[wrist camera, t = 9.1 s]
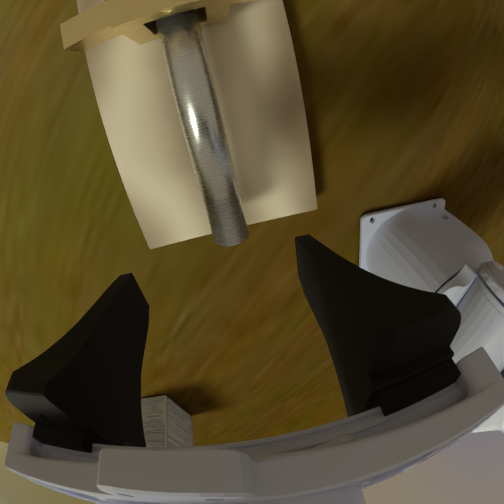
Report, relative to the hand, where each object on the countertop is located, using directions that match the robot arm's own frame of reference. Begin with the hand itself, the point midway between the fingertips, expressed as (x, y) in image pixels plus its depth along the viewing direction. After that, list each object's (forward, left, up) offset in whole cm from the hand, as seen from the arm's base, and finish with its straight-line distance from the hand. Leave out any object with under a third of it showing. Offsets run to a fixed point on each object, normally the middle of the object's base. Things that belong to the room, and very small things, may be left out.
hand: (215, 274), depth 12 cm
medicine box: (+15, +28, -9) cm, 33 cm away
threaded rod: (-1, -7, -5) cm, 9 cm away
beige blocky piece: (-1, -8, -9) cm, 12 cm away
